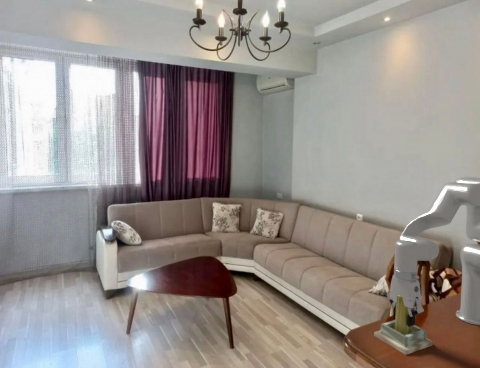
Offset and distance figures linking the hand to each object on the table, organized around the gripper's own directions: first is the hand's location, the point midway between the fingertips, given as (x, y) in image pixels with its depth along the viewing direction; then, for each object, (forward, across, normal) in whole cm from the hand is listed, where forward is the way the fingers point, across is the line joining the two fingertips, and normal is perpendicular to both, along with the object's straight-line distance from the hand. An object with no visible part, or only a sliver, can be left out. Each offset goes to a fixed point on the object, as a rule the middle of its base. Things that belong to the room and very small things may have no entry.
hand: (403, 321), depth 128 cm
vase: (+4, 0, 0) cm, 4 cm away
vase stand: (+7, 0, 0) cm, 7 cm away
